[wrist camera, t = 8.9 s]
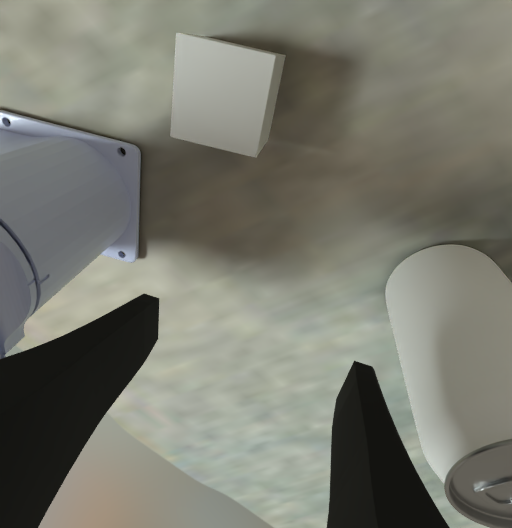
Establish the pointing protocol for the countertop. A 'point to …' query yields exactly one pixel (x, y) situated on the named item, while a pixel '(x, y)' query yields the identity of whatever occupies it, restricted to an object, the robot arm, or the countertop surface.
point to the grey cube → (224, 93)
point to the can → (459, 372)
